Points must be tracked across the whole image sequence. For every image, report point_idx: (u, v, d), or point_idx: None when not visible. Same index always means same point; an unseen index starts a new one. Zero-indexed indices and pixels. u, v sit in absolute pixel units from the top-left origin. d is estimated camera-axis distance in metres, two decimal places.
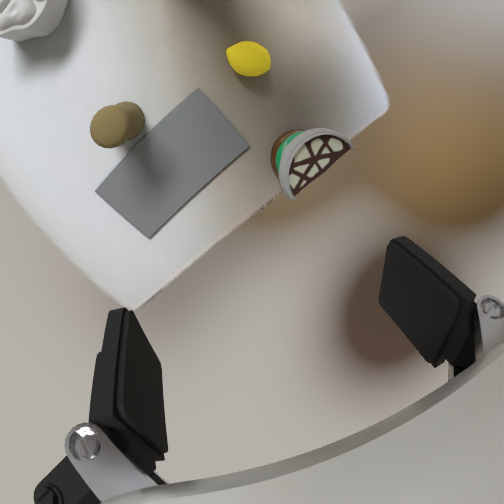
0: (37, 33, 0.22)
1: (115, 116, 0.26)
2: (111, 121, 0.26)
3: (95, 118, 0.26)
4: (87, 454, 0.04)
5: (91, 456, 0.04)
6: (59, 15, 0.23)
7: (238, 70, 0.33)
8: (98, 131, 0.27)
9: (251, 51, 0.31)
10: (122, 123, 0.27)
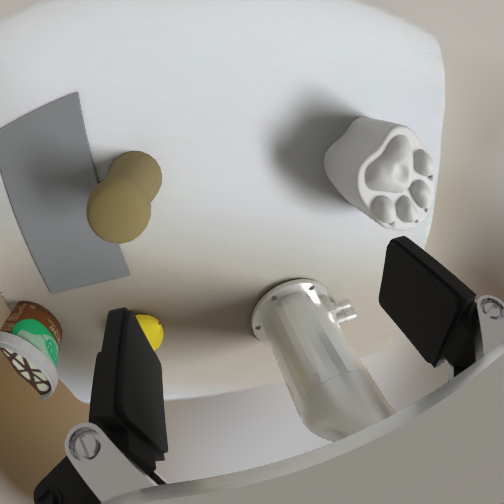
0: (340, 153, 0.29)
1: (124, 235, 0.20)
2: (120, 228, 0.19)
3: (139, 207, 0.19)
4: (87, 455, 0.04)
5: (90, 456, 0.04)
6: (334, 183, 0.32)
7: None
8: (117, 202, 0.18)
9: None
10: (109, 238, 0.19)
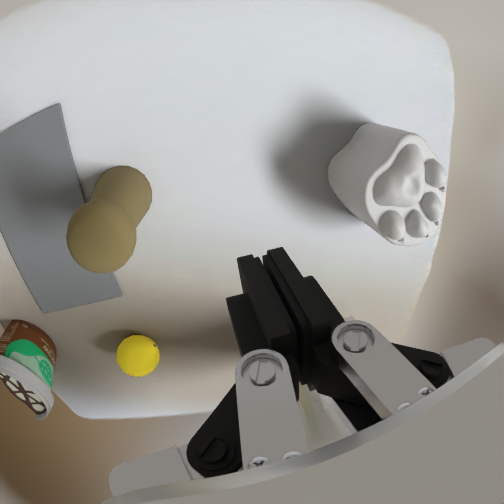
0: (345, 164, 0.27)
1: (107, 265, 0.17)
2: (102, 258, 0.17)
3: (122, 235, 0.17)
4: (254, 379, 0.06)
5: (257, 382, 0.06)
6: (339, 196, 0.30)
7: (126, 347, 0.31)
8: (97, 231, 0.16)
9: (143, 371, 0.31)
10: (92, 268, 0.17)
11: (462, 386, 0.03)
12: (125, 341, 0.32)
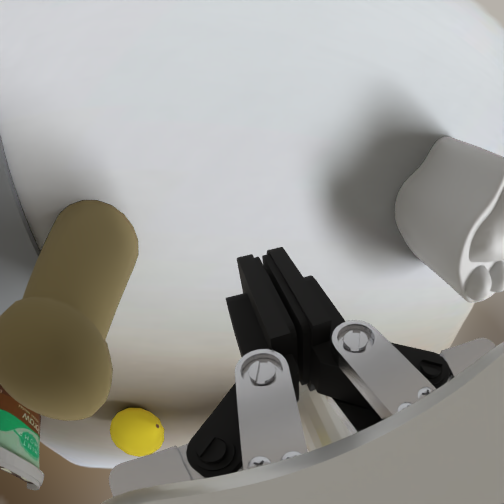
0: (427, 198, 0.17)
1: (70, 417, 0.08)
2: (57, 412, 0.07)
3: (81, 385, 0.07)
4: (254, 379, 0.06)
5: (257, 382, 0.06)
6: (409, 237, 0.20)
7: (121, 428, 0.21)
8: (33, 379, 0.06)
9: (145, 453, 0.21)
10: (47, 416, 0.07)
11: (462, 386, 0.03)
12: (119, 419, 0.22)
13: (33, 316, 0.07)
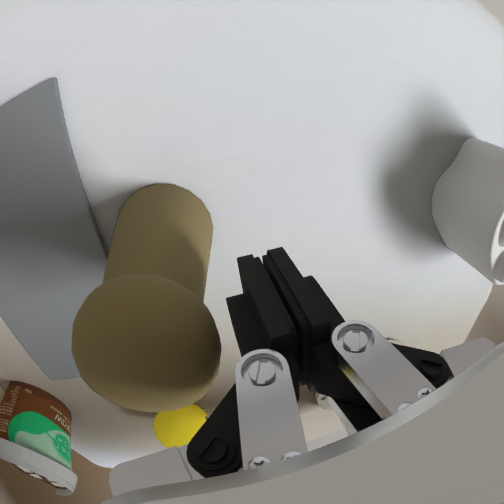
0: (461, 191, 0.18)
1: (167, 408, 0.08)
2: (157, 402, 0.08)
3: (201, 367, 0.08)
4: (254, 379, 0.06)
5: (257, 382, 0.06)
6: (444, 227, 0.21)
7: (169, 423, 0.22)
8: (144, 364, 0.07)
9: None
10: (135, 409, 0.08)
11: (462, 386, 0.03)
12: (166, 414, 0.23)
13: (147, 292, 0.08)
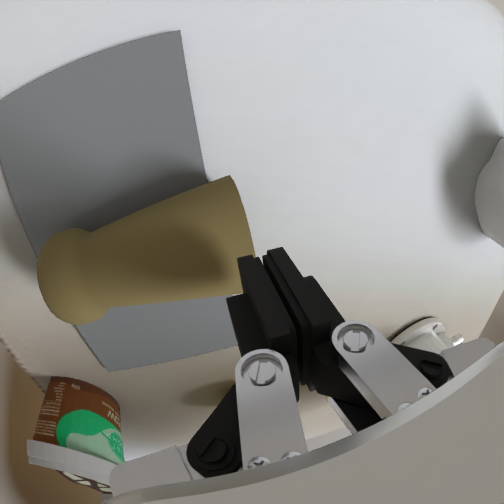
0: (501, 182, 0.19)
1: None
2: None
3: None
4: (254, 379, 0.06)
5: (257, 382, 0.06)
6: (484, 212, 0.22)
7: None
8: None
9: None
10: None
11: (462, 386, 0.03)
12: None
13: (49, 250, 0.11)
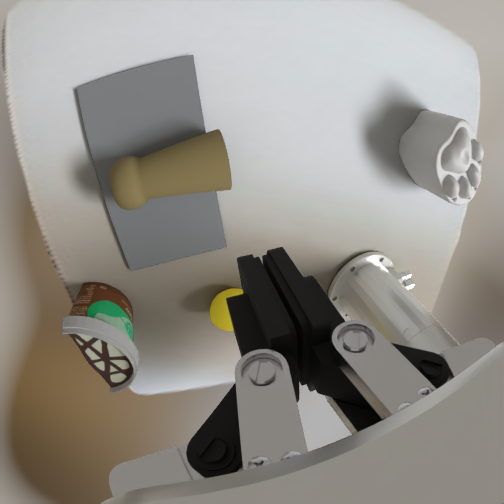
0: (416, 139, 0.31)
1: None
2: None
3: (112, 191, 0.23)
4: (254, 379, 0.06)
5: (257, 382, 0.06)
6: (408, 164, 0.34)
7: None
8: None
9: None
10: None
11: (462, 386, 0.03)
12: (223, 294, 0.36)
13: (119, 163, 0.23)
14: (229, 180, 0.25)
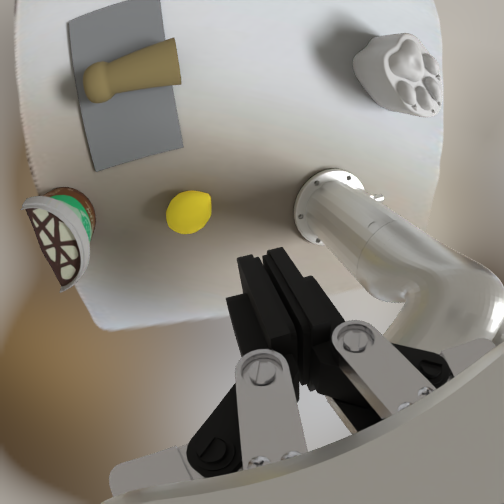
0: (366, 54, 0.30)
1: None
2: None
3: (83, 84, 0.23)
4: (254, 379, 0.06)
5: (257, 382, 0.06)
6: (363, 80, 0.33)
7: (181, 196, 0.34)
8: None
9: (196, 220, 0.34)
10: None
11: (462, 386, 0.03)
12: (179, 194, 0.35)
13: (92, 64, 0.23)
14: (177, 68, 0.25)
